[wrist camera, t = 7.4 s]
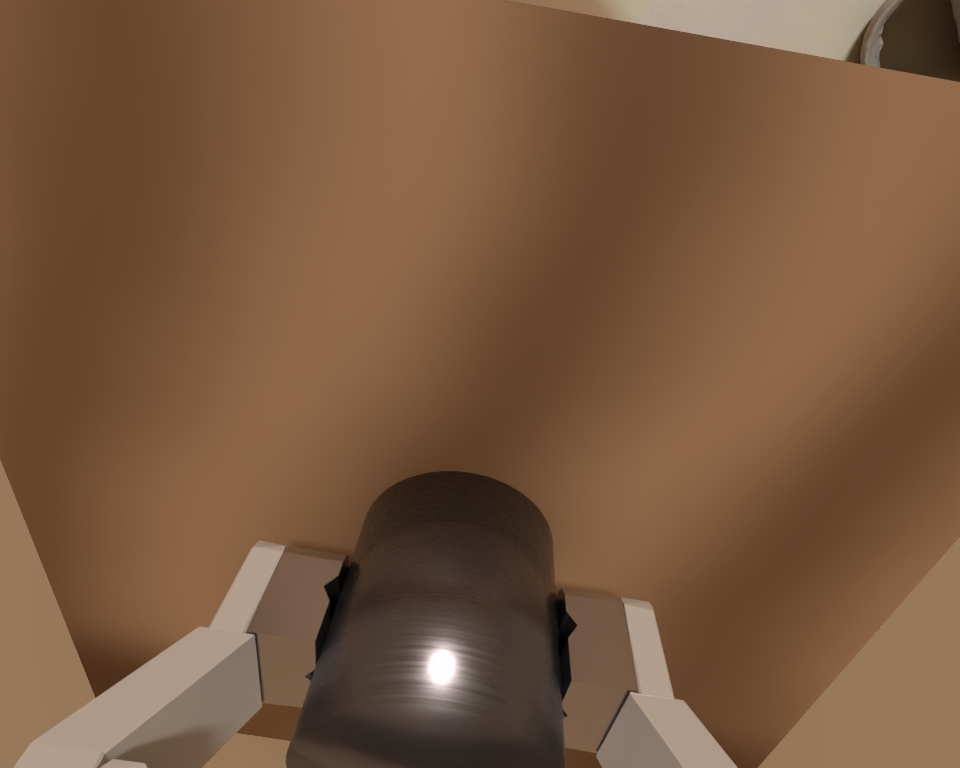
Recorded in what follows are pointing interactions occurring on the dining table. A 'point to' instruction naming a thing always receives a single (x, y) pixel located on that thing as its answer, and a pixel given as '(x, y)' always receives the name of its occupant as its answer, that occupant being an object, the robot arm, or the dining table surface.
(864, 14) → the dining table surface
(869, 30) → the ceramic mug
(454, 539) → the lid
